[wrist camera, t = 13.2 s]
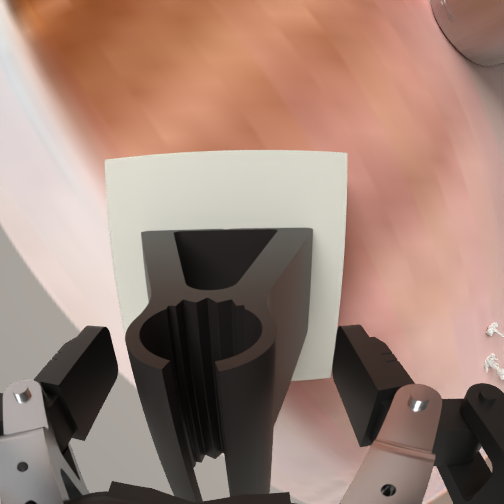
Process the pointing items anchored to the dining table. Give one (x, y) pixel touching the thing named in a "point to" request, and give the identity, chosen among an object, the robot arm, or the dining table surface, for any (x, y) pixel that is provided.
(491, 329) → the game piece set
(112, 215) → the cream block
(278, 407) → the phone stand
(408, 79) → the dining table surface
